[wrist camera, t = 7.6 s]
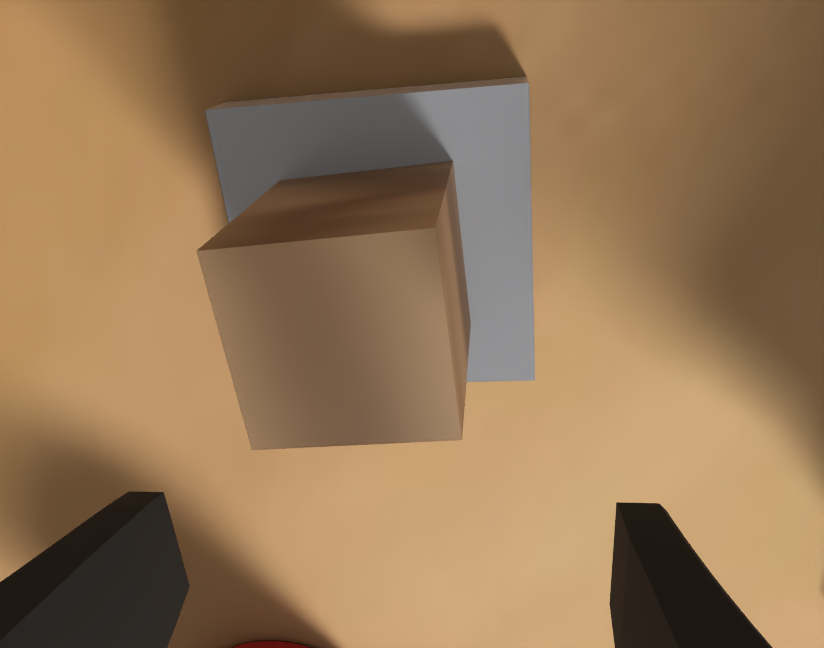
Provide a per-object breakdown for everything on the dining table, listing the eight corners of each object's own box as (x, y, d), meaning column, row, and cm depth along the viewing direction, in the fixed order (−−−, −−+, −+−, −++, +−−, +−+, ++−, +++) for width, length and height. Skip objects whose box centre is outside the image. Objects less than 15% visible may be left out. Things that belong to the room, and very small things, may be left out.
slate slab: (525, 74, 18) (528, 82, 16) (531, 347, 21) (535, 380, 19) (232, 99, 19) (204, 110, 17) (282, 355, 22) (263, 386, 21)
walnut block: (453, 161, 17) (435, 227, 12) (470, 324, 19) (461, 439, 14) (279, 180, 18) (196, 251, 13) (313, 335, 20) (251, 449, 15)
